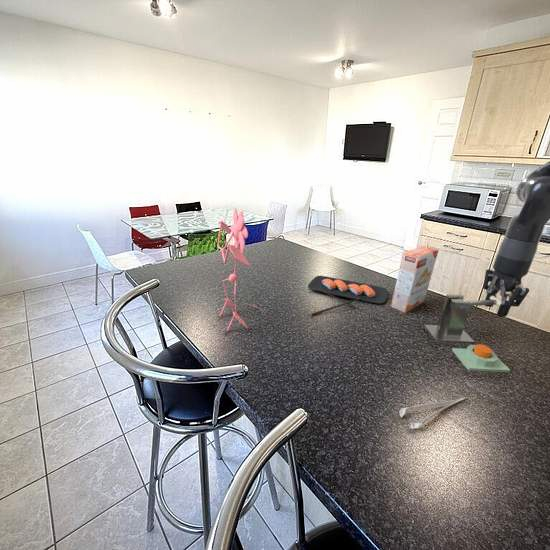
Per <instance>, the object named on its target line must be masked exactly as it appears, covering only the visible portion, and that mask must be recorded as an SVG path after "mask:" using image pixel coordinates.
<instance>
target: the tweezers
mask: <svg viewBox="0 0 550 550" xmlns="http://www.w3.org/2000/svg"><path fill="white" fill-rule="evenodd" d="M466 399H467V398H466V396H464V397H461V398H456V399H452V400H447V401H440V402H433V403H423V404H417V405H413V406H407V407H401V408H400V410H399V416H400V418H403V417H404V416H405V415H406V414H407V413H408V414H409V413H412V412H418V411H424V410H430V409H437V408H439V409H438V410H437V411H435V412H434V413H432V414H430V415H428V416H427V417H425V418H423V419H422V420H421V421H420V422H412V421H411V422H410V427H409V428H411V429H412V430H415V429H419V428H421V427H422V425H423V424H424V423H426V422H427V421H428V420H430V419H431V418H432V417H434V416H436V415H438V414H440V413H441V412H442V411H444V410H445V409H448V408H449V407H451V406H453V405H455V404H457V403H459V402H461V401H464V400H466Z"/></svg>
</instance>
